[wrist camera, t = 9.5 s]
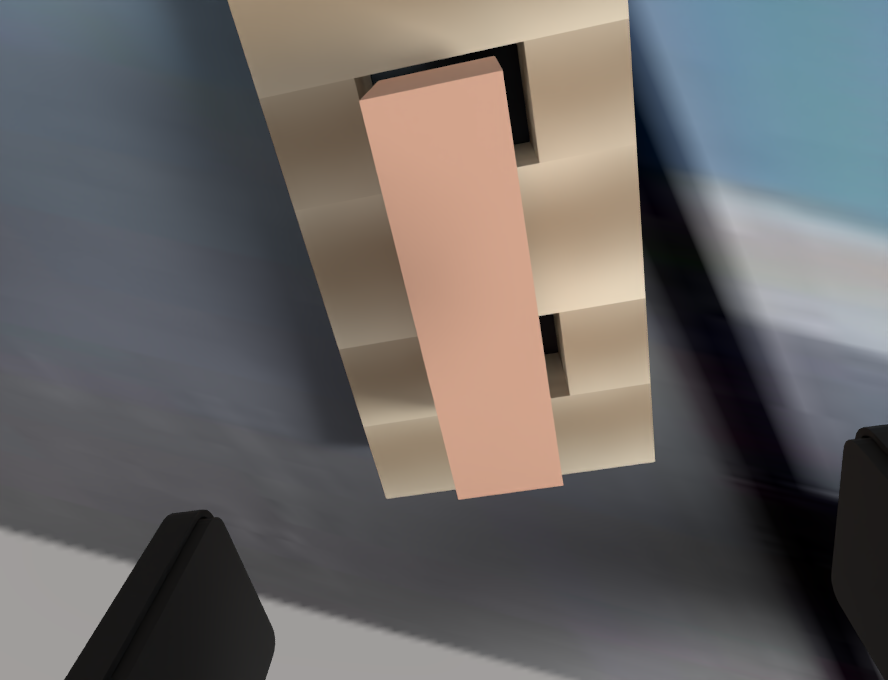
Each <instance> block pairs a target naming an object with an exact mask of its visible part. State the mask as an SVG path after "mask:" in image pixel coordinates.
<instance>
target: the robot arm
mask: <svg viewBox="0 0 888 680" xmlns="http://www.w3.org/2000/svg"><path fill="white" fill-rule="evenodd" d="M831 580H832V586H833V590H834V593H835V596H836V598H837V600H838V602H839V604H840V606H841V608H842V609H843V611H844V613H845V614H846V616H847V618H848V619H849V621H850V623H851V624H852V626H853V628H854V629H855V631H856V633H857V634H858V636H859V638H860V639H861V641H862V643H863V644H864V646H865V648H866V649H867V651H868V653H869V654H870V656H871V658H872V659H873V661H874V663H875V664H876V666H877V668H878V669H879V671H880V673H881V674H882V676H883V678H884V679H885V680H888V424H887V425H879V426H871V427H863V428H861V429H859V430H858V432H857V433H856V437H855V439H852V440H848V441H846V443H845V445H844V450H843V460H842V471H841V481H840V491H839V501H838V512H837V522H836V532H835V542H834V553H833V563H832V573H831ZM274 648H275V636H274V631H273V628H272V626H271V623H270V622H269V619H268V617H267V615H266V613H265V611H264V608H263V606H262V604H261V602H260V600H259V598H258V595H257V593H256V591H255V589H254V587H253V585H252V583H251V580H250V578H249V576H248V574H247V572H246V570H245V568H244V565H243V563H242V561H241V559H240V557H239V555H238V552H237V550H236V548H235V546H234V544H233V542H232V540H231V537H230V535H229V533H228V531H227V529H226V527H225V525H224V523H223V521H222V520H221V519H220V518H217V517H215V518H214V517H213V515H212V514H211V513H210V512H209V511H208V510H196V511H188V512H180V513H172V514H170V515H168V516H167V517H166V518H165V519H164V520H163V522H162V523H161V525H160V527H159V528H158V530H157V532H156V533H155V535H154V536H153V538H152V540H151V541H150V543H149V544H148V546H147V548H146V549H145V551H144V552H143V554H142V556H141V557H140V559H139V560H138V562H137V564H136V565H135V567H134V569H133V570H132V572H131V573H130V575H129V577H128V578H127V580H126V582H125V583H124V585H123V586H122V588H121V590H120V591H119V593H118V594H117V596H116V597H115V599H114V601H113V602H112V604H111V606H110V607H109V609H108V610H107V612H106V614H105V615H104V617H103V618H102V620H101V622H100V623H99V625H98V627H97V628H96V630H95V631H94V633H93V635H92V636H91V638H90V639H89V641H88V643H87V644H86V646H85V648H84V649H83V651H82V652H81V654H80V655H79V657H78V659H77V660H76V662H75V663H74V665H73V667H72V668H71V670H70V671H69V673H68V675H67V676H66V678H65V679H64V680H265V679H266V676H267V673H268V670H269V667H270V663H271V660H272V657H273V653H274Z"/></svg>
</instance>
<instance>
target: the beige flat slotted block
mask: <svg viewBox="0 0 888 680" xmlns="http://www.w3.org/2000/svg"><path fill="white" fill-rule="evenodd" d="M228 3H229V6H230V10H231V13H232V16H233V19H234V22H235V25H236V28H237V32H238V35H239V38H240V41H241V44H242V47H243V50H244V54H245V57H246V60H247V63H248V66H249V69H250V72H251V76H252V79H253V82H254V85H255V88H256V91H257V94H258V97H259V101H260V104H261V107H262V110H263V113H264V116H265V119H266V123H267V126H268V129H269V132H270V135H271V138H272V141H273V145H274V148H275V151H276V154H277V157H278V160H279V163H280V167H281V170H282V173H283V176H284V179H285V182H286V185H287V188H288V192H289V195H290V198H291V201H292V204H293V207H294V210H295V214H296V217H297V220H298V223H299V226H300V229H301V232H302V236H303V239H304V242H305V245H306V248H307V251H308V254H309V257H310V261H311V264H312V267H313V270H314V273H315V276H316V279H317V283H318V286H319V289H320V292H321V295H322V298H323V301H324V305H325V308H326V311H327V314H328V317H329V320H330V323H331V327H332V330H333V333H334V336H335V339H336V342H337V345H338V348H339V352H340V355H341V358H342V361H343V364H344V367H345V370H346V374H347V377H348V380H349V383H350V386H351V389H352V392H353V396H354V399H355V402H356V405H357V408H358V411H359V414H360V418H361V421H362V424H363V427H364V430H365V433H366V436H367V439H368V443H369V446H370V449H371V452H372V455H373V458H374V461H375V465H376V468H377V471H378V474H379V477H380V480H381V483H382V487H383V490H384V493H385V496H386V499H390V498H397V497H404V496H412V495H419V494H426V493H433V492H441V491H448V490H455V489H456V488H455V484H454V480H453V476H452V472H451V468H450V464H449V460H448V456H447V452H446V448H445V444H444V440H443V436H442V432H441V428H440V424H439V420H438V416H437V412H436V408H435V404H434V400H433V396H432V392H431V388H430V384H429V380H428V376H427V372H426V368H425V364H424V360H423V356H422V352H421V348H420V344H419V340H418V336H417V332H416V328H415V324H414V320H413V316H412V312H411V308H410V304H409V300H408V296H407V292H406V288H405V284H404V280H403V275H402V271H401V267H400V263H399V259H398V255H397V251H396V247H395V243H394V239H393V235H392V231H391V227H390V223H389V219H388V215H387V211H386V207H385V203H384V199H383V195H382V191H381V187H380V183H379V179H378V175H377V171H376V167H375V163H374V159H373V155H372V151H371V147H370V143H369V139H368V135H367V131H366V127H365V123H364V119H363V115H362V111H361V107H360V103H359V100H360V99H361V98H362V97H363V96H364V95H365V94H366V93H367V92H368V91H369V90H370V89H371V88H372V87H373V85H372V81H371V76H370V75H371V74H376V73H380V72H385V71H390V70H394V69H399V68H403V67H408V66H413V65H417V64H422V63H426V62H431V61H436V60H440V59H445V58H449V57H454V56H459V55H463V54H468V53H472V52H477V51H482V50H486V49H491V48H495V47H500V46H505V45H509V44H514V43H517V50H518V57H519V65H520V72H521V79H522V87H523V94H524V102H525V109H526V116H527V124H528V131H529V139H530V142H526V143H521V144H516V145H514V151H515V158H516V165H517V172H518V179H519V185H520V192H521V199H522V206H523V213H524V220H525V226H526V233H527V240H528V247H529V254H530V261H531V267H532V274H533V281H534V288H535V295H536V302H537V308H538V315H539V316H542V315H548V314H553V316H554V324H555V331H556V339H557V346H558V352H557V353H551V354H545V355H544V356H545V363H546V370H547V377H548V384H549V390H550V397H551V404H552V411H553V418H554V425H555V431H556V438H557V445H558V452H559V459H560V466H561V472H562V475H564V474H571V473H578V472H585V471H593V470H600V469H607V468H614V467H621V466H629V465H636V464H643V463H650V462H655V453H654V436H653V419H652V402H651V385H650V368H649V351H648V334H647V317H646V300H645V284H644V267H643V250H642V233H641V216H640V199H639V182H638V165H637V148H636V131H635V114H634V98H633V81H632V64H631V47H630V30H629V13H628V0H228Z"/></svg>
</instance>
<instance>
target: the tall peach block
mask: <svg viewBox="0 0 888 680" xmlns="http://www.w3.org/2000/svg"><path fill="white" fill-rule="evenodd" d="M359 103H360V107H361V111H362V115H363V119H364V123H365V127H366V131H367V135H368V139H369V143H370V147H371V151H372V155H373V159H374V163H375V167H376V171H377V175H378V179H379V183H380V187H381V191H382V195H383V199H384V203H385V207H386V211H387V215H388V219H389V223H390V227H391V231H392V235H393V239H394V243H395V247H396V251H397V255H398V259H399V263H400V267H401V271H402V275H403V280H404V284H405V288H406V292H407V296H408V300H409V304H410V308H411V312H412V316H413V320H414V324H415V328H416V332H417V336H418V340H419V344H420V348H421V352H422V356H423V360H424V364H425V368H426V372H427V376H428V380H429V384H430V388H431V392H432V396H433V400H434V404H435V408H436V412H437V416H438V420H439V424H440V428H441V432H442V436H443V440H444V444H445V448H446V452H447V456H448V460H449V464H450V468H451V472H452V476H453V480H454V484H455V488H456V492H457V496H458V500H460V499H467V498H475V497H482V496H490V495H497V494H504V493H512V492H519V491H526V490H534V489H541V488H548V487H556V486H563V479H562V472H561V466H560V459H559V452H558V445H557V438H556V431H555V425H554V418H553V411H552V404H551V397H550V390H549V384H548V377H547V370H546V363H545V356H544V349H543V343H542V336H541V329H540V322H539V315H538V308H537V302H536V295H535V288H534V281H533V274H532V267H531V261H530V254H529V247H528V240H527V233H526V226H525V220H524V213H523V206H522V199H521V192H520V185H519V179H518V172H517V165H516V158H515V151H514V144H513V138H512V131H511V124H510V117H509V110H508V103H507V97H506V90H505V83H504V76H503V70H502V68H501V66H500V64H499V63H498V61H497V59H496V57H495V56H491V57H486V58H482V59H477V60H472V61H468V62H463V63H458V64H454V65H449V66H445V67H440V68H435V69H431V70H426V71H421V72H417V73H412V74H407V75H403V76H398V77H393V78H389V79H384V80H380V81H378V82H377V83H376V84H375V85H374V86H373V87H372V88H371V89H370V90H369V91H368V92H367V93H366V94H365V95H364V96H363V97H362V98H361V99H360V100H359Z"/></svg>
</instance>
